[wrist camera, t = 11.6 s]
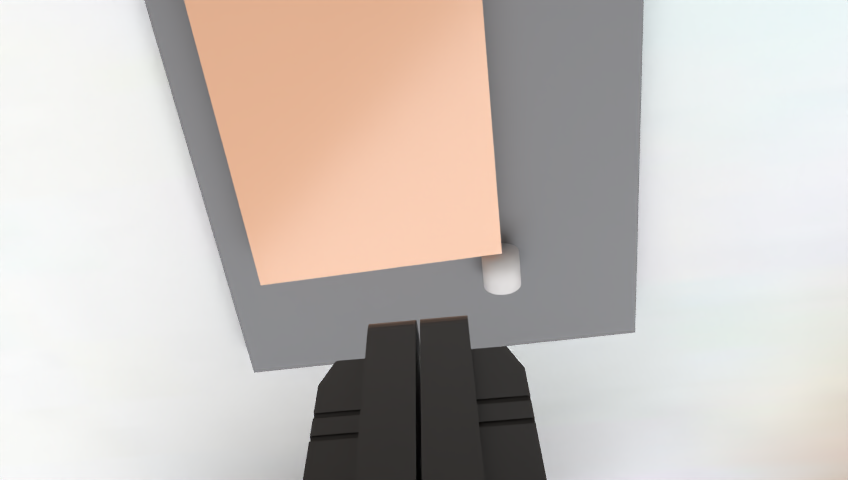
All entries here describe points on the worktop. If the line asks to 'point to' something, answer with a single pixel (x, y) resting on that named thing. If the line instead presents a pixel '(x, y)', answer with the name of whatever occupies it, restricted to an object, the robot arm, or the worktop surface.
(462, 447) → the robot arm
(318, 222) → the tile
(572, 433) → the worktop surface
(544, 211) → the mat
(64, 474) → the worktop surface
